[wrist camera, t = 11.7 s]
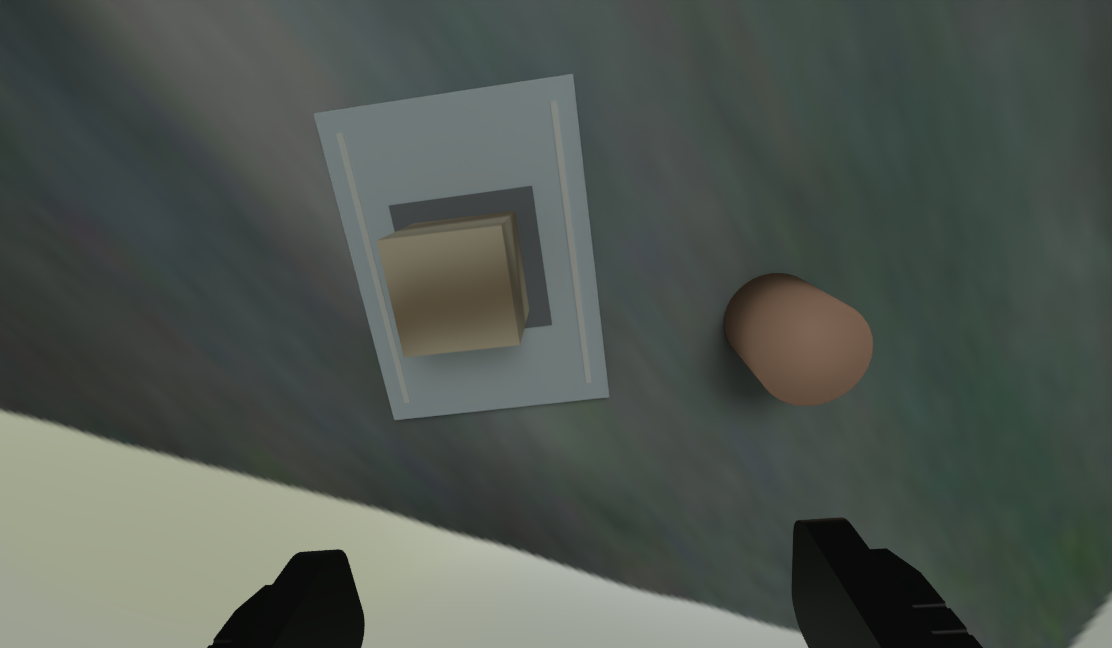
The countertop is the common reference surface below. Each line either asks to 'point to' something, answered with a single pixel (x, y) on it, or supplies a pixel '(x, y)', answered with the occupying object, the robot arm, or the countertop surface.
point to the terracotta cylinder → (798, 339)
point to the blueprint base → (469, 190)
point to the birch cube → (456, 284)
